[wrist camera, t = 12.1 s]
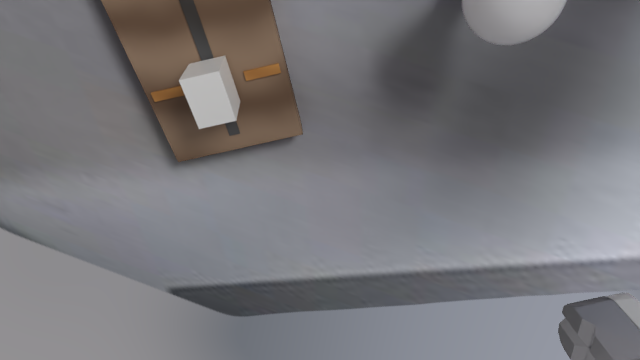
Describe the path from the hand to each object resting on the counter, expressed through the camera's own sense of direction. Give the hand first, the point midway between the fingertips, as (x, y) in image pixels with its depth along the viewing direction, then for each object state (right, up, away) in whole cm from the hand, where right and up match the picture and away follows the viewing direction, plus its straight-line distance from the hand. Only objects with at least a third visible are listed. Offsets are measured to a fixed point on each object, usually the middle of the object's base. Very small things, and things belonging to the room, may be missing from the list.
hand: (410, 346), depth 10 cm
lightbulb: (+10, +21, +22) cm, 32 cm away
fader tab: (-11, +13, +22) cm, 28 cm away
